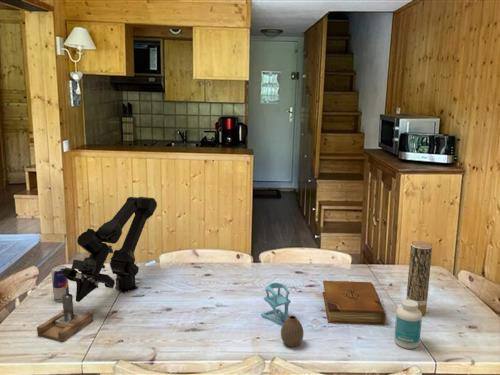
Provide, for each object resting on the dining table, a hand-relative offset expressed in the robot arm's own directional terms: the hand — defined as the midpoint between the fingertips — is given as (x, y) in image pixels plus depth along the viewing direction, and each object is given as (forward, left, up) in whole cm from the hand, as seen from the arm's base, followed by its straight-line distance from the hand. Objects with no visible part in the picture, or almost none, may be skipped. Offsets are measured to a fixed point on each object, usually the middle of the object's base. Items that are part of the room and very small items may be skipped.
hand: (77, 301), depth 154 cm
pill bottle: (-68, +82, -7) cm, 107 cm away
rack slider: (+4, +2, -6) cm, 7 cm away
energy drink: (-2, -20, -7) cm, 21 cm away
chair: (-50, +44, -7) cm, 67 cm away
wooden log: (-89, +74, -7) cm, 116 cm away
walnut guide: (+5, +2, -7) cm, 9 cm away
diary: (-75, +57, -7) cm, 95 cm away
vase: (-42, +58, -7) cm, 72 cm away
